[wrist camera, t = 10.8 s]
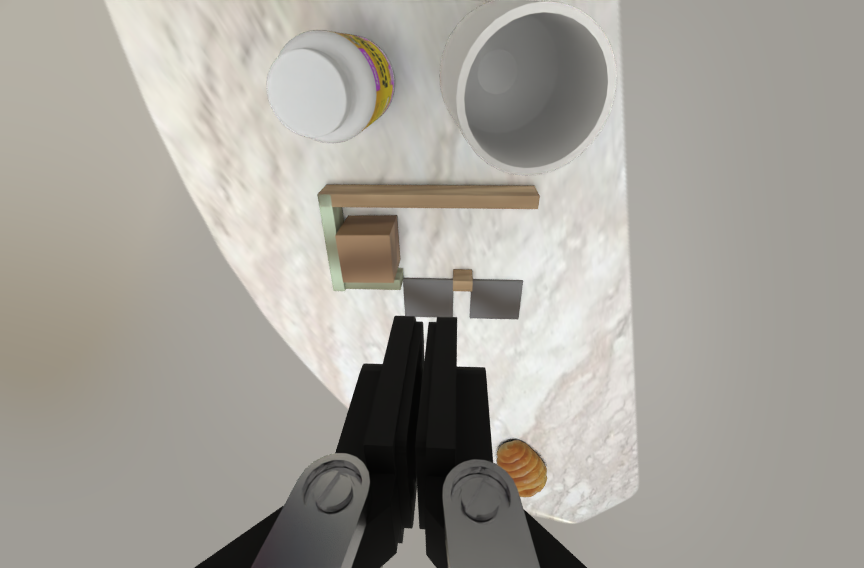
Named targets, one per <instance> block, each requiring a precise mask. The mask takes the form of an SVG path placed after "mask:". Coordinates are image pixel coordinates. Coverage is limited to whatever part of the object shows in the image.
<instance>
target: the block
mask: <svg viewBox="0 0 864 568" xmlns="http://www.w3.org/2000/svg"><path fill="white" fill-rule="evenodd" d="M335 238H336V244H337V250H338V256H339V261H340V267H341V273H342V279H343V283H394V280H395V277H396V273H397V270H398V266H399V263H400V248H399V235H398V223H397V215H367V216H348V217H347V218H346V220H345V221H344V223H343V224H342V226H341V227H340V229H339V230H338V232H337V233H336V235H335Z"/></svg>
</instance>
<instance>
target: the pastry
mask: <svg viewBox="0 0 864 568" xmlns="http://www.w3.org/2000/svg"><path fill="white" fill-rule="evenodd" d="M497 464H498V466H500V467H501V468H503V469H504V470H505V471H506V472H507V473H508V474H509V475H510V476H511V478H512V479H513V480H514V483H515V485H516V487H517V489H518V492H519V496H520V497H531V496H533V495H535V494H536V493H537V492H540V491H541V490H542V489H543V487H544V486H545V484H546V481H547V476H546V473H547V469H546V466H545V465H544V463H543V461H542V459H541V458H540V457H539V456H538V455H537V454H536V452H535V451H533V450H532V449H531V448H530V447H529V446H528V445H527V444H526V443H523V442H521V441H520V440H514V441H511V442H506V443H504V444H502V445H501V446H500V448H499V450H498V451H497Z"/></svg>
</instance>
